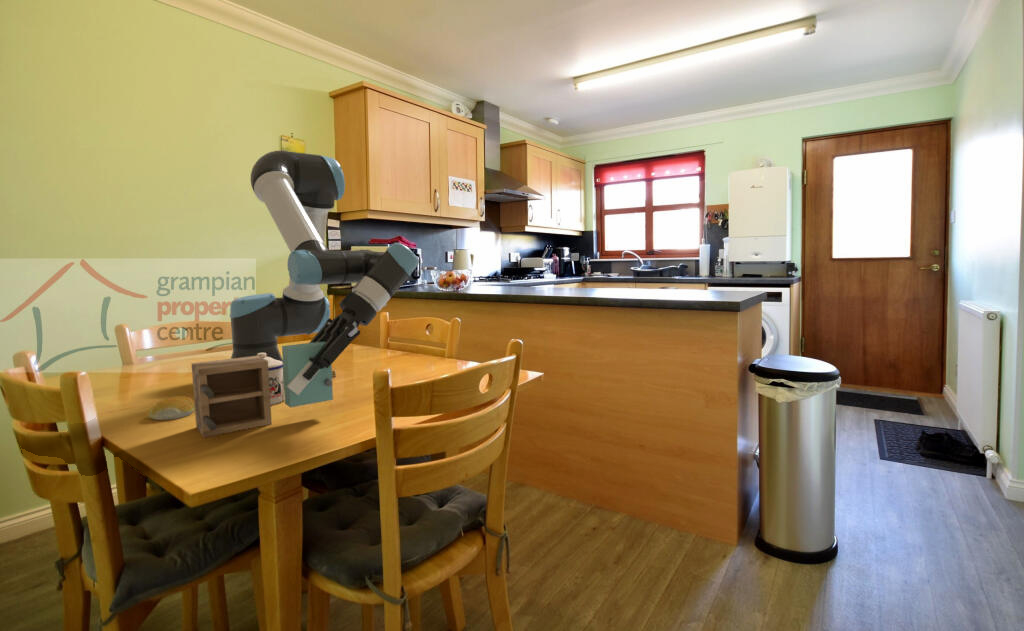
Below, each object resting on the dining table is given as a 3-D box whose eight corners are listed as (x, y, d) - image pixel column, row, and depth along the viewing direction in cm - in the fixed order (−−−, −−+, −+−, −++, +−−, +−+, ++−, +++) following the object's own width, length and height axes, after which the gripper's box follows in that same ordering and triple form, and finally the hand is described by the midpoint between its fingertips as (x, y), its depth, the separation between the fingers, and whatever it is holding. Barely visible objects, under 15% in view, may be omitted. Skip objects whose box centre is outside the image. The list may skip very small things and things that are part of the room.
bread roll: (200, 407, 118) (198, 390, 118) (189, 419, 110) (187, 400, 109) (158, 411, 116) (156, 393, 115) (143, 423, 107) (141, 404, 107)
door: (285, 403, 106) (282, 346, 104) (326, 396, 111) (324, 341, 110) (291, 408, 103) (288, 349, 101) (334, 400, 108) (332, 344, 107)
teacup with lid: (245, 409, 115) (242, 358, 114) (240, 400, 123) (237, 352, 122) (302, 401, 122) (299, 352, 121) (294, 393, 130) (291, 347, 128)
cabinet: (196, 427, 103) (191, 363, 102) (261, 415, 111) (257, 355, 109) (210, 446, 92) (205, 375, 91) (281, 432, 100) (277, 365, 98)
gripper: (393, 316, 109) (317, 408, 100) (360, 310, 121) (290, 390, 113) (368, 293, 105) (287, 386, 96) (337, 288, 117) (263, 370, 109)
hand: (289, 388), depth 104 cm, fingers closed on door, 3 cm apart
